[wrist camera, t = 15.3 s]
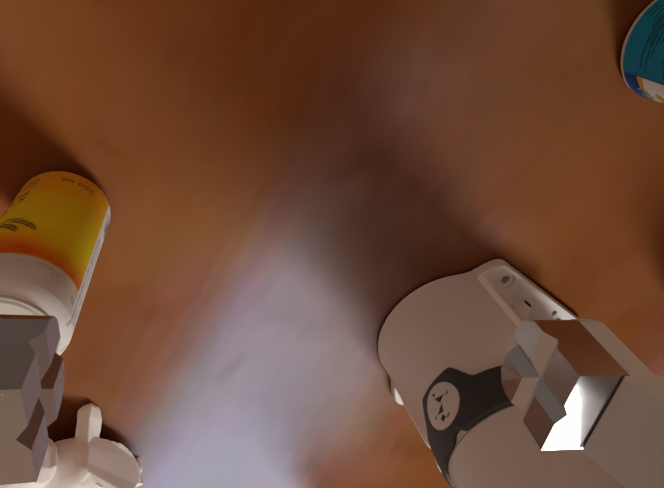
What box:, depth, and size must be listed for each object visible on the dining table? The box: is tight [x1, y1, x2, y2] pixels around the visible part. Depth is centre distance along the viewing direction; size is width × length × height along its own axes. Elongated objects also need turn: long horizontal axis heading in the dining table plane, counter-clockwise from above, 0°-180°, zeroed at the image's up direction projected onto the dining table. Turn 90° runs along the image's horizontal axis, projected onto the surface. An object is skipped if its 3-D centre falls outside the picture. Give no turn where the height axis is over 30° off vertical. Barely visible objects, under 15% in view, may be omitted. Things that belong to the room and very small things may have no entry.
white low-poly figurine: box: [0, 403, 144, 488], centre depth 47 cm, size 9×8×15 cm
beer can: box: [0, 171, 111, 355], centre depth 32 cm, size 6×6×15 cm
